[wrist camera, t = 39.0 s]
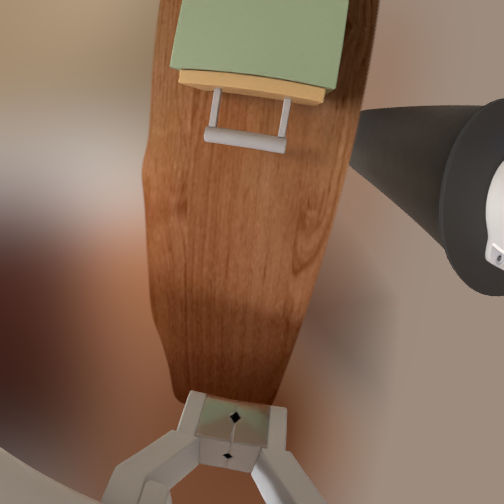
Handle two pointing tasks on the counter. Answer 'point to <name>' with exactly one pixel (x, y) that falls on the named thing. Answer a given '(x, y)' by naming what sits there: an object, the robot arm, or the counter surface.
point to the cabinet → (263, 38)
